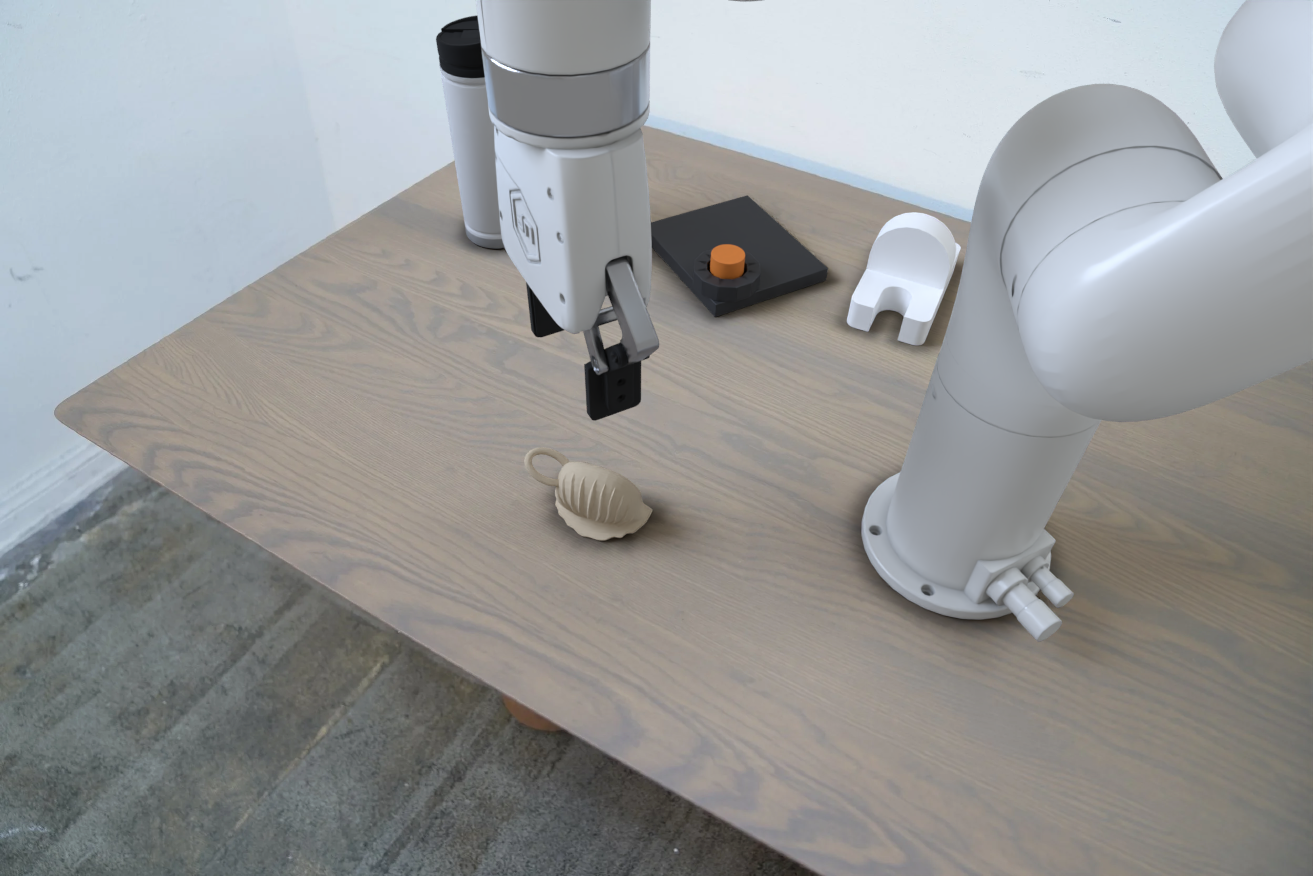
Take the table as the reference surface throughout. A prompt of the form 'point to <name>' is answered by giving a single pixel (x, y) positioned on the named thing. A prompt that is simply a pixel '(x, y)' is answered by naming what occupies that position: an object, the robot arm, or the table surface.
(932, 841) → the table surface
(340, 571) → the table surface
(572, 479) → the decorative ornament
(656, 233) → the black flat block
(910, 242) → the slotted bracket
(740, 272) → the button
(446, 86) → the travel mug
